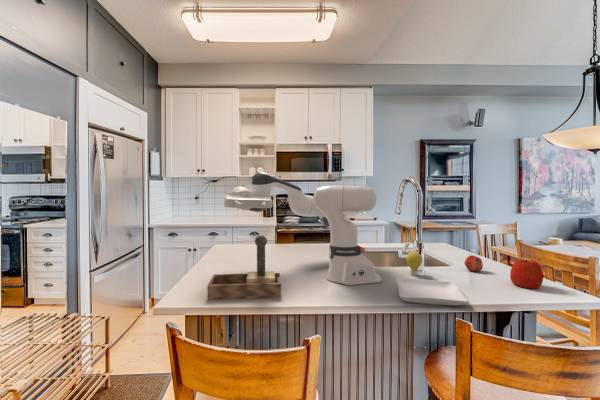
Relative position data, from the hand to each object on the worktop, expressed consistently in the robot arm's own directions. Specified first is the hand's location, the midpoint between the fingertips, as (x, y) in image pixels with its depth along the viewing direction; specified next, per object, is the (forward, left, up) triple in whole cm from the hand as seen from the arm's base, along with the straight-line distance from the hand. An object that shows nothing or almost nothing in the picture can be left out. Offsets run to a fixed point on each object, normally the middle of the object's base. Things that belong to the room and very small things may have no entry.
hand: (252, 205), depth 134 cm
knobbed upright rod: (-4, +14, -29) cm, 33 cm away
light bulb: (-70, -3, -31) cm, 76 cm away
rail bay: (+2, +14, -31) cm, 34 cm away
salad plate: (-63, +24, -31) cm, 74 cm away
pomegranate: (-100, -7, -31) cm, 105 cm away
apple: (-107, +16, -31) cm, 112 cm away
